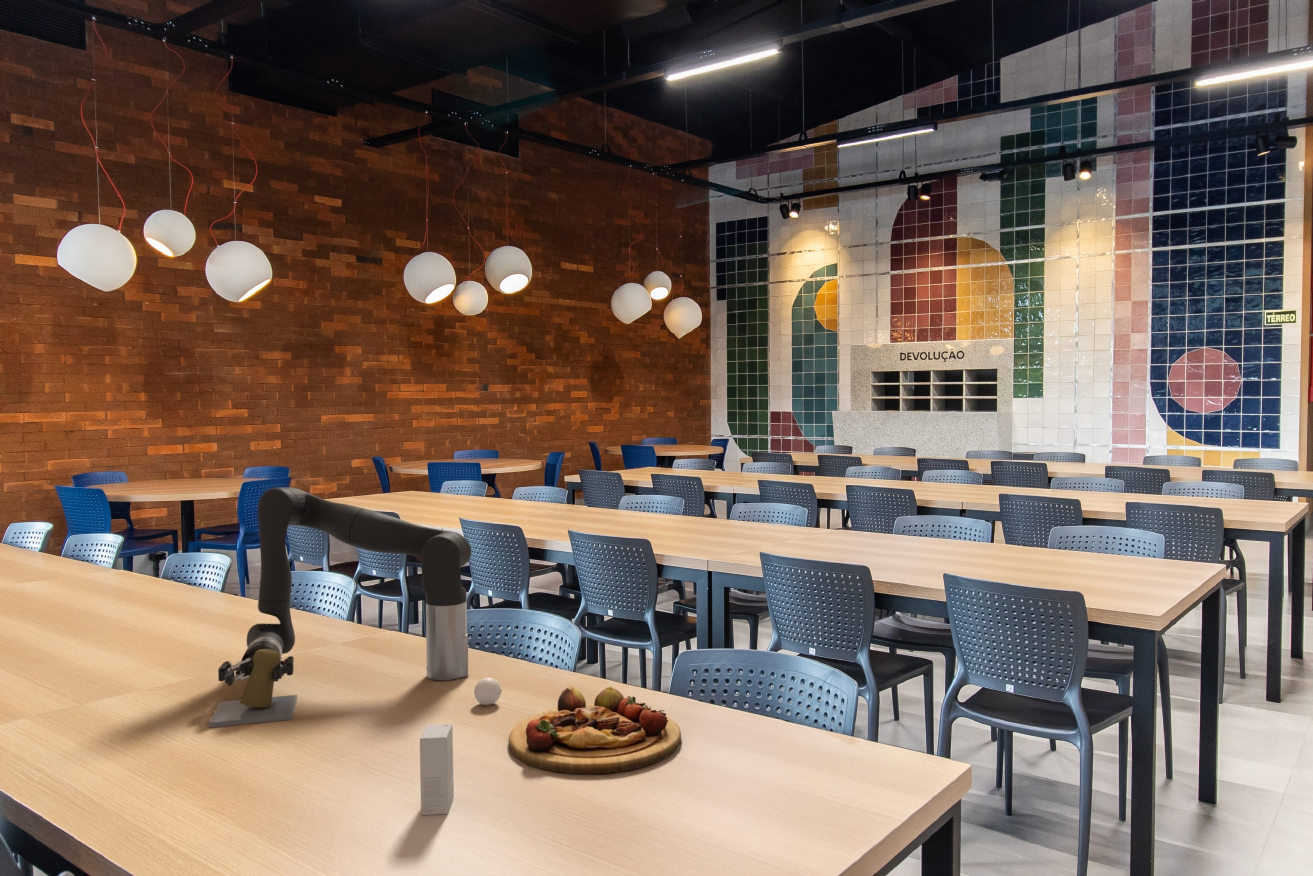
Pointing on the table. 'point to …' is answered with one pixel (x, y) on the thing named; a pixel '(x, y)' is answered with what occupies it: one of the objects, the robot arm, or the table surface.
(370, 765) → the table surface
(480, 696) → the white egg
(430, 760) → the skincare box
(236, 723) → the slate tile
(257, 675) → the cork
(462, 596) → the robot arm
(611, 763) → the wooden plate with food
